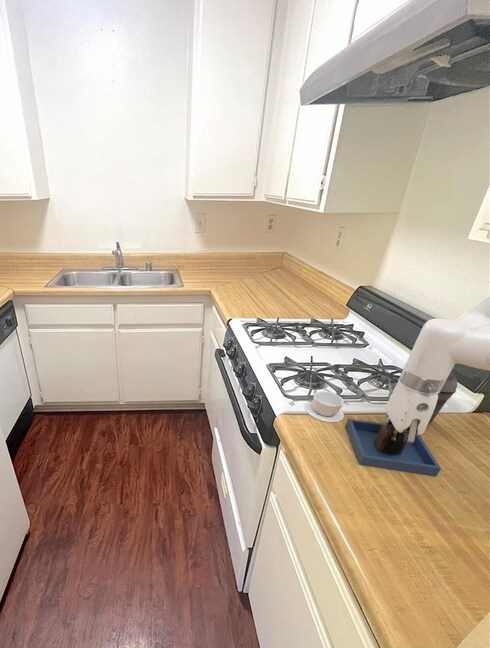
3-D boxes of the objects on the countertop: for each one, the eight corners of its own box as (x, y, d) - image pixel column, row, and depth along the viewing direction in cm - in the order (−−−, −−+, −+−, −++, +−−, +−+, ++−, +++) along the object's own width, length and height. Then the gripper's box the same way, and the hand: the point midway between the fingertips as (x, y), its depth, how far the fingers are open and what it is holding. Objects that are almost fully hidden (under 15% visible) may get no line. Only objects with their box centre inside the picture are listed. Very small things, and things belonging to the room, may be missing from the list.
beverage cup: (438, 434, 88) (479, 364, 77) (405, 428, 90) (441, 358, 79) (429, 418, 94) (467, 351, 83) (399, 412, 96) (432, 346, 84)
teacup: (335, 428, 89) (341, 413, 86) (298, 412, 94) (303, 398, 92) (348, 412, 95) (354, 398, 92) (313, 398, 101) (317, 384, 98)
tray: (410, 436, 87) (415, 427, 85) (435, 477, 75) (441, 468, 73) (344, 427, 89) (348, 418, 88) (358, 466, 77) (363, 456, 76)
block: (395, 446, 83) (406, 426, 80) (400, 455, 80) (411, 435, 77) (373, 443, 84) (382, 423, 80) (377, 451, 81) (387, 431, 78)
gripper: (461, 403, 64) (418, 474, 74) (425, 364, 78) (393, 428, 88) (417, 398, 65) (381, 468, 75) (389, 360, 79) (361, 424, 89)
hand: (387, 446), depth 81 cm, fingers closed on block, 3 cm apart
